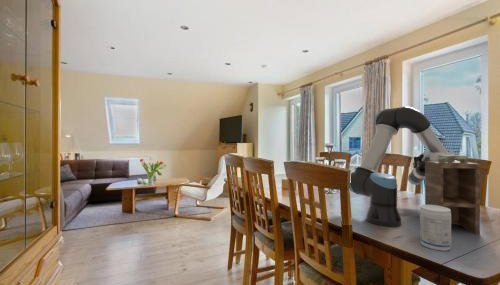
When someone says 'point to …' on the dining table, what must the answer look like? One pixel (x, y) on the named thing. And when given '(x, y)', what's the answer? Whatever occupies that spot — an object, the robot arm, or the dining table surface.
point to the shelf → (455, 189)
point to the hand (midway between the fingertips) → (439, 152)
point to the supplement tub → (435, 227)
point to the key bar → (435, 157)
